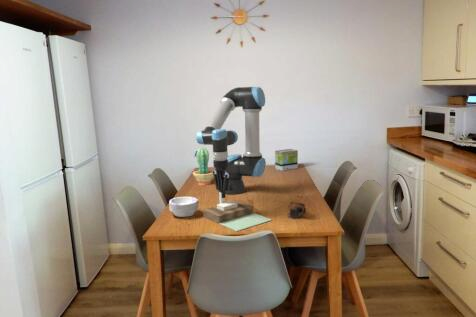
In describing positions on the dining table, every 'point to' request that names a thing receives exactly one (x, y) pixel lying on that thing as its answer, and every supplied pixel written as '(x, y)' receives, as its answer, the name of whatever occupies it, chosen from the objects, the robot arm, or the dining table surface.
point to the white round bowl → (183, 206)
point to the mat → (245, 222)
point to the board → (228, 212)
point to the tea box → (286, 159)
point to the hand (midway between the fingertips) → (222, 203)
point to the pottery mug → (296, 210)
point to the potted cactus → (203, 167)
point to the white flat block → (227, 205)
